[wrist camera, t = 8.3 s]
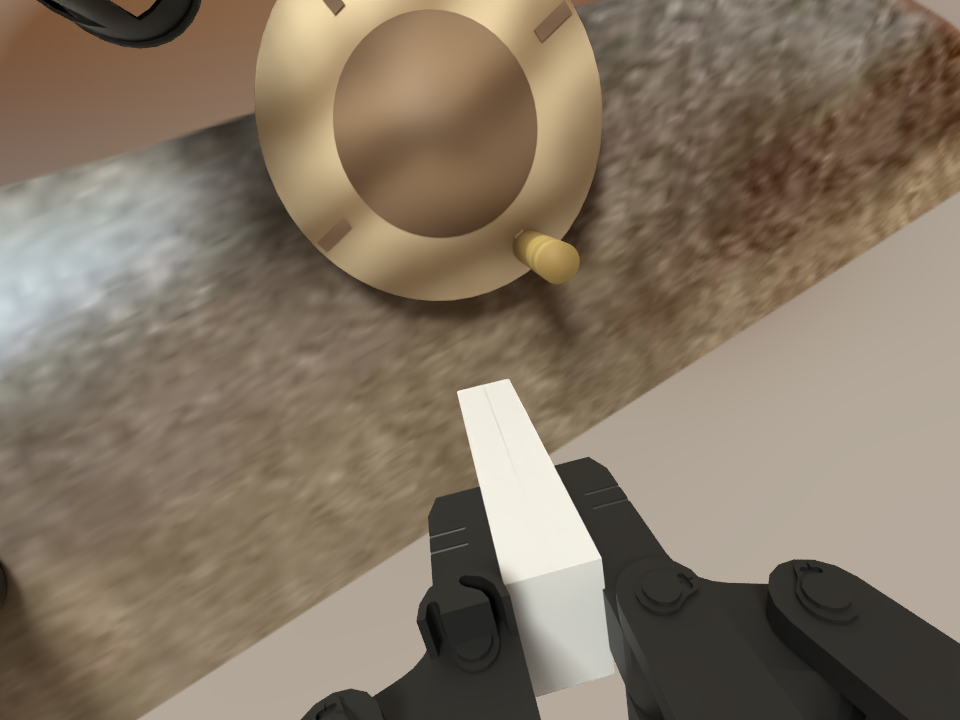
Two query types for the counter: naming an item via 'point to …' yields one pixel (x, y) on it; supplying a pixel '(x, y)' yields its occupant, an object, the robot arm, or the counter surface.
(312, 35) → the turntable
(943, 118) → the counter surface
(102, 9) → the french press
